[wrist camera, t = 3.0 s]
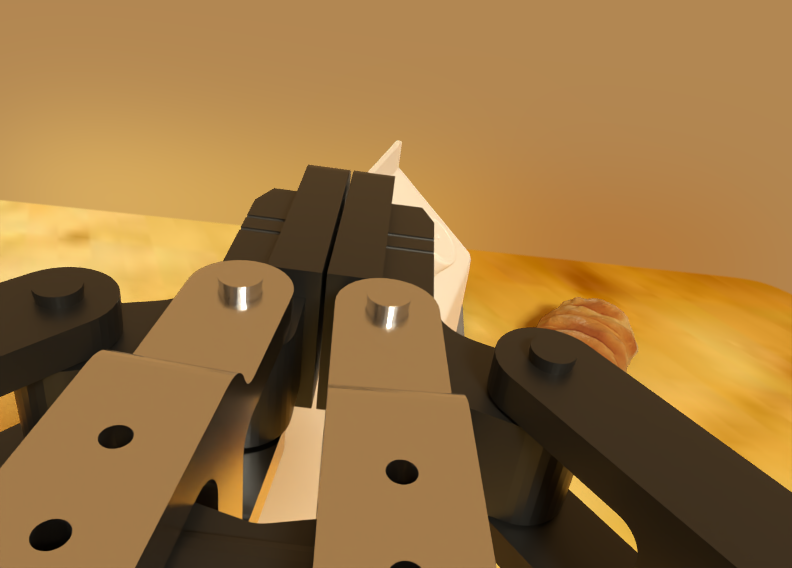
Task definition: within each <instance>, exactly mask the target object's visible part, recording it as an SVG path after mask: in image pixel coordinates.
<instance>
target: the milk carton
mask: <svg viewBox="0 0 792 568" xmlns="http://www.w3.org/2000/svg"><path fill="white" fill-rule="evenodd" d="M401 145H402V142H401V141H398V140H397V141H396V142H395V143H394V144H393V145H392V146H391V147H390V148H389V150H388V151H387V152H386V153H385V154H384V155H383V156H382V157H381V158H380V159H379V160H378V162H377V163H376V164H375V165H374V166H373V167H372V168H371V169H370V170H369V172H368V173H375V174H383V175H390V176H395V183H394V191H393V199H392V204H399V205H406V206H414V207H421V208H423V209H424V210H425V212H426V213H427V214H428V215H429V217H430V218H431V219H432V221H433V222H434V299H435V300H436V302H437V304H438V305H439V309H440V314H441V320H442V321H443V322H444V323H445V324H446V325H447V326H448V327H450V328H451V329H452V330H454V331H455V332H456V331H457V326H458V321H459V316H460V312H461V307H462V302H463V297H464V293H465V288H466V283H467V278H468V273H469V267H470V261H471V260H470V254H469V253H468V251H467V250H466V249H465V248H464V246H463V245H462V244H461V243H460V241H459V240H458V239H457V238H456V237H455V235H454V234H453V233H452V232H451V230H450V229H449V228H448V227H447V226H446V225H445V223H444V222H443V221H442V220H441V218H440V217H439V216H438V215H437V214H436V212H435V211H434V210H433V209H432V207H431V206H430V205H429V204H428V203H427V201H426V200H425V199H424V198H423V196H422V195H421V194H420V193H419V192H418V190H417V189H416V188H415V187H414V186H413V184H412V183H411V182H410V181H409V179H408V178H407V177H406V176H405V175H404V174H403V172H402V171H401V170H400V169H399V167H398V166H399V159H400V152H401ZM318 379H319V377H318ZM317 391H318V381H317V386H316V390H315V395H314V399H313V404H312V408H311V409H310V408H302V407H294V410H293V414H292V418H291V421H290V423H289V426H288V427H287V429H286V442H285V448H284V451H283V454H282V457H281V460H280V462H279V465H278V468H277V471H276V473H275V476H274V479H273V482H272V484H271V487H270V490H269V493H268V495H267V498H266V501H265V504H264V506H263V509H262V512H261V515H260V517H259V520H258V523H276V522H287V521H298V520H309V519H316V509H317V497H318V486H319V474H320V463H321V451H322V440H323V429H324V420H325V410H320V409H316V403H317Z"/></svg>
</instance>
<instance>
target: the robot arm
mask: <svg viewBox="0 0 792 568" xmlns="http://www.w3.org/2000/svg"><path fill="white" fill-rule="evenodd" d="M350 173H351V171H350V170H344V169H336V168H329V167H321V166H314V165H308V166H307V169H306V171H305V173H304V176H303V178H302V181H301V183H300V186H299V188H298V191H290V190H283V189H275V188H274V189H272V190H270V191H269V192H267V193H265V194H264V195H262V196H261V197H259V198H257V199H255V201H254V203H253V205H252V207H251V209H250V211H249V212H248V214H247V217H246V218H245V220H244V222H243V224H242V226H241V230H239V232H238V234H237V235H236V237H235V239H234V241H233V243H232V245H231V247H230V249H229V251H228V253H227V255H226V257H225V259H224V260H223V262H218V263H214V264H210V265H208V266H205V267H203V268H201V269H199V270H197V271H196V272H195V273H193V274H192V275H191V276H190V277H189V279H188V280H187V281H186V283H185V284H184V285H183V287H182V288H181V289H180V291H179V292H178V294H177V295H176V296H175V298H174V299H169V300H161V301H148V302H132V303H121V296H120V289H119V286H118V284H117V283H116V282H115V281H114V280H113V279H112V278H111V277H109V276H108V275H106V274H104V273H101V272H99V271H95V270H92V269H86V268H78V267H60V268H51V269H45V270H40V271H36V272H33V273H29V274H26V275H23V276H20V277H17V278H14V279H10V280H7V281H4V282H1V283H0V397H1V396H4V395H6V394H8V393H11V392H13V391H14V394H15V399H16V404H17V408H18V413H19V418H20V423H19V424H17V425H15V426H13V427H10V428H8V429H6V430H4V431H2V432H0V568H496V563H497V565H498V566H499V567H500V568H792V492H790V491H789V490H788V489H786V488H785V487H784V486H782V485H781V484H779V483H778V482H777V481H775V480H774V479H772V478H771V477H770V476H768V475H767V474H766V473H764V472H763V471H761V470H760V469H759V468H757V467H756V466H755V465H753V464H752V463H750V462H749V461H748V460H746V459H745V458H743V457H742V456H741V455H739V454H738V453H737V452H735V451H734V450H732V449H731V448H730V447H728V446H727V445H725V444H724V443H723V442H721V441H720V440H719V439H717V438H716V437H714V436H713V435H712V434H710V433H709V432H707V431H706V430H705V429H703V428H702V427H701V426H699V425H698V424H696V423H695V422H694V421H692V420H691V419H690V418H688V417H687V416H685V415H684V414H683V413H681V412H680V411H678V410H677V409H676V408H674V407H673V406H672V405H670V404H669V403H667V402H666V401H665V400H663V399H662V398H660V397H659V396H658V395H656V394H655V393H654V392H652V391H651V390H649V389H648V388H647V387H645V386H644V385H642V384H641V383H640V382H638V381H637V380H636V379H634V378H633V377H631V376H630V375H629V374H627V373H626V372H625V371H623V370H622V369H620V368H619V367H618V366H616V365H615V364H613V363H612V362H611V361H609V360H608V359H607V358H605V357H604V356H602V355H601V354H600V353H598V352H597V351H595V350H594V349H593V348H591V347H590V346H589V345H587V344H585V343H584V342H582V341H581V340H579V339H577V338H575V337H573V336H570V335H568V334H565V333H563V332H559V331H556V330H551V329H546V328H521V329H516V330H513V331H510V332H508V333H506V334H505V335H503V336H502V337H501V338H500V339H499V340H498V342H497V344H496V347H495V348H494V347H491V346H488V345H485V344H482V343H479V342H476V341H474V340H471V339H469V338H466V337H464V336H462V335H460V334H458V333H457V332H455V331H454V330H452V329H451V328H450V327H448V326H447V325H446V324H445V323H444V322H443V321H442V320H441V314H440V309H439V305H438V304H437V302H436V300H435V299H434V222H433V221H432V219H431V218H430V217H429V215H428V214H427V213H426V212H425V210H424V209H423V208H421V207H414V206H406V205H399V204H392V199H393V191H394V183H395V176H390V175H383V174H375V173H368V172H360V171H354V172H353V175H352V179H351V183H350V177H351V174H350ZM318 377H319V379H318ZM317 381H318V391H317V403H316V409H320V410H325V420H324V429H323V440H322V451H321V463H320V474H319V486H318V497H317V509H316V519H309V520H298V521H287V522H276V523H258V520H259V517H260V515H261V512H262V509H263V506H264V504H265V501H266V498H267V495H268V493H269V490H270V487H271V484H272V482H273V479H274V476H275V473H276V471H277V468H278V465H279V462H280V460H281V457H282V454H283V451H284V448H285V442H286V429H287V427H288V426H289V423H290V421H291V418H292V414H293V410H294V407H302V408H310V409H311V408H312V404H313V399H314V395H315V390H316V386H317ZM573 475H575V476H576V477H577V478H578V479H579V480H580V481H581V482H582V483H584V484H585V485H586V486H587V487H588V488H589V489H590V490H591V491H592V492H594V493H595V494H596V495H597V496H598V497H599V498H600V499H601V500H602V501H604V502H605V503H606V504H607V505H608V506H609V507H610V508H611V509H612V510H614V511H615V512H616V513H617V514H618V515H619V516H620V517H621V518H622V519H623V520H624V521H625V523H626V524H627V525H628V527H629V528H630V530H631V532H632V534H633V536H634V538H635V541H636V544H637V549H638V553H637V552H636V551H635V550H634V549H633V548H632V547H631V546H630V545H629V544H627V543H626V542H625V541H624V540H623V539H622V538H621V537H620V536H619V535H618V534H617V533H616V532H614V531H613V530H612V529H611V528H610V527H609V526H608V525H607V524H606V523H605V522H604V521H603V520H601V519H600V518H599V517H598V516H597V515H596V514H595V513H594V512H593V511H592V510H591V509H590V508H588V507H587V506H586V505H585V504H584V503H583V502H582V501H581V500H580V499H579V498H578V497H576V496H575V495H574V494H573V493H572V492H571V491H570V490H569V486H570V483H571V480H572V477H573Z"/></svg>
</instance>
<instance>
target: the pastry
mask: <svg viewBox="0 0 792 568" xmlns="http://www.w3.org/2000/svg"><path fill="white" fill-rule="evenodd" d="M536 328H546V329H551V330H556V331H559V332H563V333H565V334H568V335H570V336H573V337H575V338H577V339H579V340H581V341H582V342H584V343H585V344H587V345H589V346H590V347H591V348H593V349H594V350H595V351H597V352H598V353H600V354H601V355H602V356H604V357H605V358H607V359H608V360H609V361H611V362H612V363H613V364H615V365H616V366H618V367H619V368H620V369H622V370H623V371H625V372H626V371H627V367H628V365H629V364H630V361H631V359H632V358H633V357H634V356H635V355H636V354H637V352H638V345H637V343H636V341H635V338H634V333H633V330H632V328H631V326H630V324H629V320H628V317H627V316H626V315H625V314H624V312H623V311H621V310H620V309H619V308H617V307H616V306H615V305H612V304H610V303H608V302H606V301H604V300H602V299H594V298H592V299H583V298H581V297H576V298H574V299H572V300H568V301H564V302H563V303H562V304H561V305H560V306H559V307H558V308H557V309H555V310H553V311H551V312H550V313H549V314H547V315H545V316H544V317H542V318H541V320H540V321H539V323H538V325H537V327H536ZM626 373H627V372H626Z"/></svg>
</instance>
